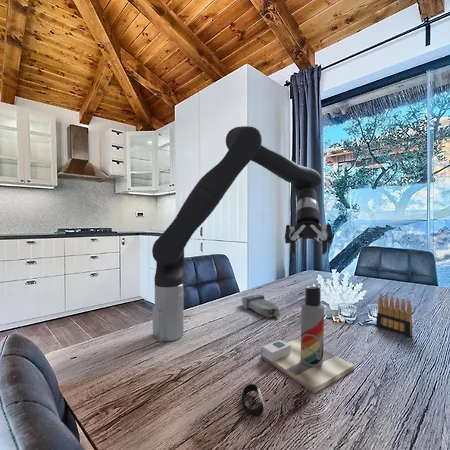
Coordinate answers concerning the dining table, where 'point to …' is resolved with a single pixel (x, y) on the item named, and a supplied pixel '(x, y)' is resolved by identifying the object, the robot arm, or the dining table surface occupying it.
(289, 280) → the dining table surface
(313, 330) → the lotion bottle
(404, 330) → the ammunition clip
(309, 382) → the plywood panel
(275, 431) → the dining table surface
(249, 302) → the handheld device
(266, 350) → the block
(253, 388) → the watch
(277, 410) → the dining table surface
